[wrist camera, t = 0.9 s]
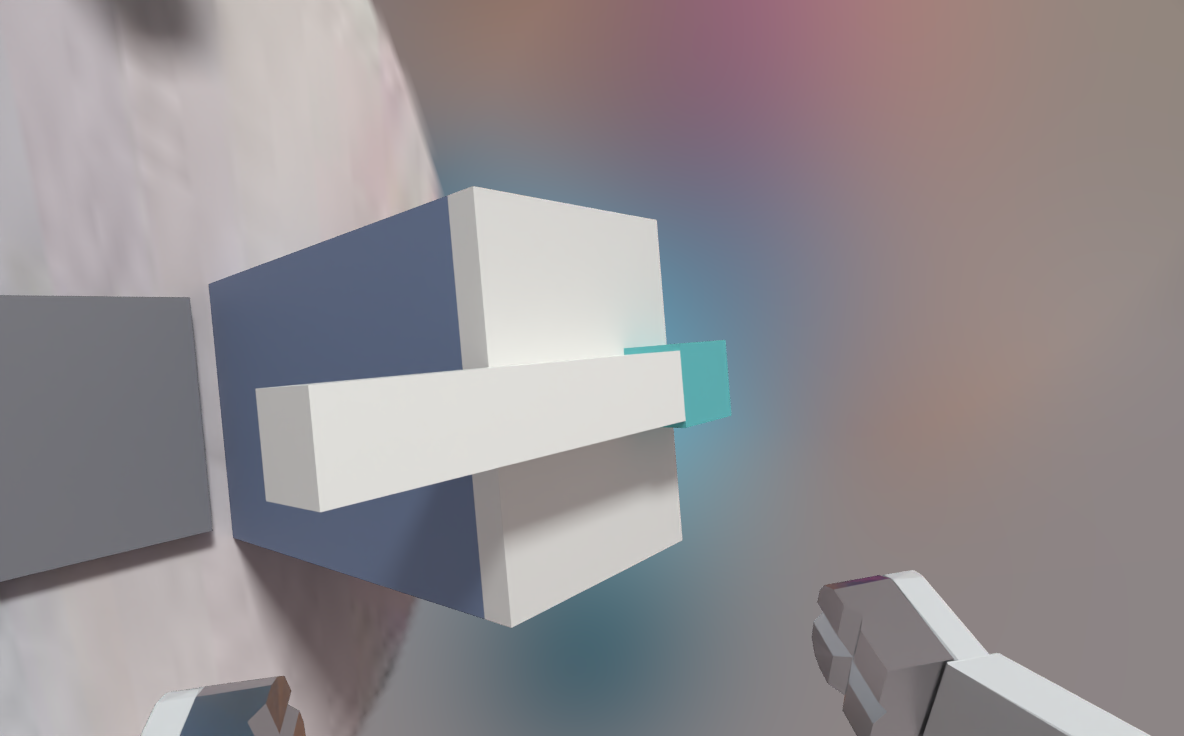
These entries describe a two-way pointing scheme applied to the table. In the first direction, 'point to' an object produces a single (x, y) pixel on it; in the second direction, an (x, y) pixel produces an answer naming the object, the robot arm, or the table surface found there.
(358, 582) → the table surface
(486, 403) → the white and teal box
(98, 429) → the board
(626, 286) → the tall slate-blue pillar
